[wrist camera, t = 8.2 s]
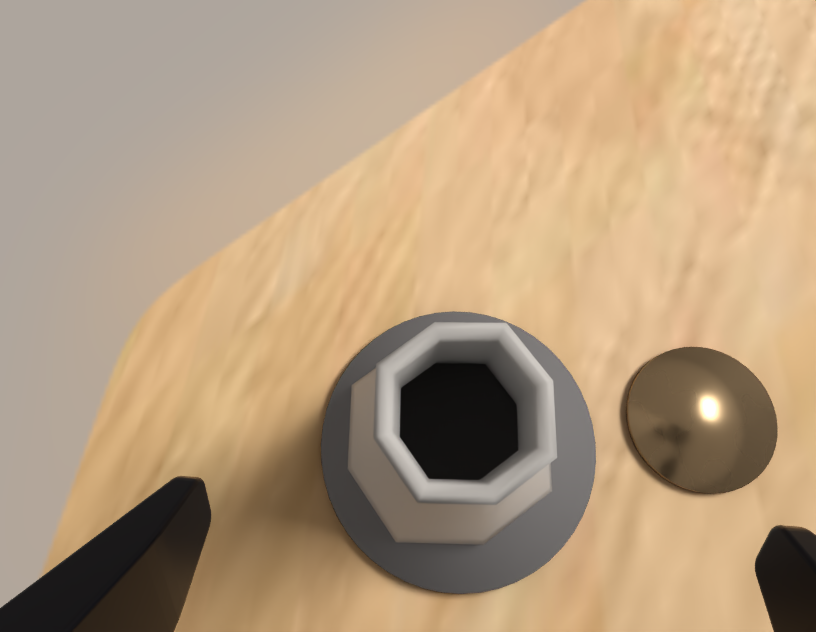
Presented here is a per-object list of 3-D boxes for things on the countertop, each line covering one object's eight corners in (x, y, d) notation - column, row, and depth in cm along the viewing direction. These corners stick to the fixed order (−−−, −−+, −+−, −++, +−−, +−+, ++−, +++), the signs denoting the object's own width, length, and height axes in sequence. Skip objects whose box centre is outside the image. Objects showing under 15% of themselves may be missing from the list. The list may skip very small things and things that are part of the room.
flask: (510, 311, 20) (584, 165, 10) (585, 509, 18) (766, 565, 8) (322, 370, 19) (212, 278, 10) (378, 578, 17) (310, 720, 8)
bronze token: (766, 510, 18) (770, 511, 18) (615, 470, 18) (617, 470, 18) (779, 367, 19) (783, 366, 19) (637, 333, 20) (639, 332, 19)
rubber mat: (566, 629, 17) (568, 631, 17) (287, 545, 18) (285, 546, 18) (613, 348, 19) (616, 346, 19) (364, 288, 20) (363, 285, 20)
